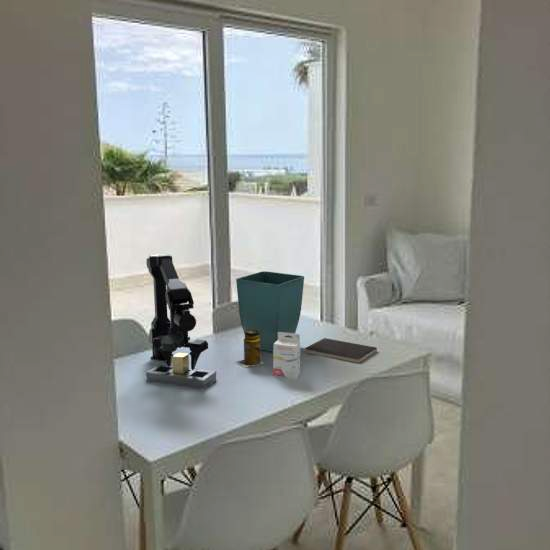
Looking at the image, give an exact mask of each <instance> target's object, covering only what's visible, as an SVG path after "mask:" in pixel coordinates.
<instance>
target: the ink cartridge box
mask: <svg viewBox="0 0 550 550" xmlns="http://www.w3.org/2000/svg"><path fill="white" fill-rule="evenodd" d="M288 335H289V336H292V338H287V337H285V336H288ZM272 353H273V354H272V357H273V360H272V363H273V365H272V367H273V368H272V369H273V371H272V373H273V374H272V375H273V376H274V377H275V376H276V377H281V378H290V379H297V378H298V376H300V374H301V340H300V333H295V334H294V333H285V332H278V340H277V341H276V342H275V343H274V344H273V352H272Z"/></svg>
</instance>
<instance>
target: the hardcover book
mask: <svg viewBox="0 0 550 550" xmlns="http://www.w3.org/2000/svg"><path fill="white" fill-rule="evenodd" d="M377 349H378V348H377V347H375V346H370V345H365V344H360V343H353V342H348V341H344V340H339V339H331V338H326V337H324V338H322V339H319V340H318V341H316V342H314V343H312V344H310V345H308V346H306V347H304V350H305V353H309V354H313V355H317V356H322V357H328V358H332V359H333V358H334V359H338V360H344V361H348V362H353V363H360V362H361V361H364V360H365V359H367V358H368V357H370V356H371V355H373V354H374V353H376V352H377Z"/></svg>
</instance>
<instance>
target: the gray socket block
mask: <svg viewBox="0 0 550 550" xmlns="http://www.w3.org/2000/svg"><path fill="white" fill-rule="evenodd" d="M145 377H146V381H147V382H154V383H161V384H168V385H175V386H181V387H185V388H193V389H200V390H201V389H202V390H204V389H205V388H207V387H209V386H210V385H212V384H213V383H214V382H215V381H216V380H217V371H216V370H208V369H204V368H203V369H201V368H196V367H195V368H194V370H192V369H191V367H189V372H188V373H186V374H185V375H179V374H173V364H171V366H170V367H168V366H167V363H160V364H157V365H156V366H154V367H153V368H150V369H149V370H147V371H145Z"/></svg>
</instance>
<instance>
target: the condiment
mask: <svg viewBox="0 0 550 550" xmlns="http://www.w3.org/2000/svg"><path fill="white" fill-rule="evenodd" d="M243 358H244V359H243V360H237V361H235V363H236V364H238V365H240V366H241V367H243V368H249V367H254V366H255V367H256V366H260V365H264V364H265V362H264V361H262V360H261V349H260V338H259V331H257V330H247V331H245V334H244V339H243Z"/></svg>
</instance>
